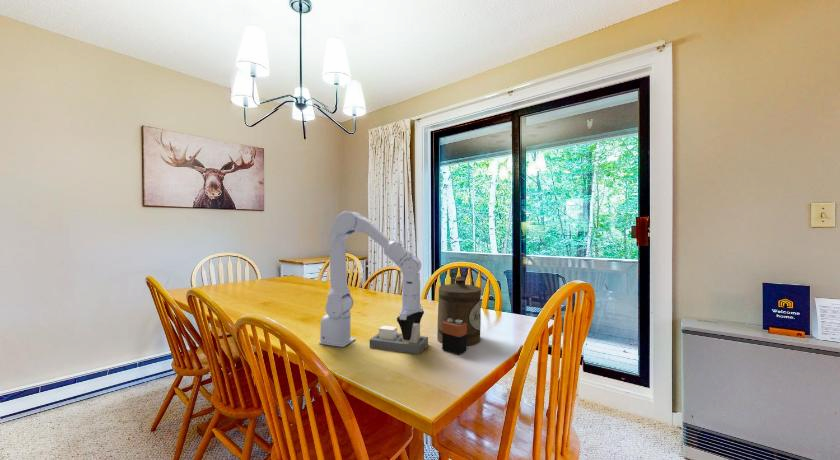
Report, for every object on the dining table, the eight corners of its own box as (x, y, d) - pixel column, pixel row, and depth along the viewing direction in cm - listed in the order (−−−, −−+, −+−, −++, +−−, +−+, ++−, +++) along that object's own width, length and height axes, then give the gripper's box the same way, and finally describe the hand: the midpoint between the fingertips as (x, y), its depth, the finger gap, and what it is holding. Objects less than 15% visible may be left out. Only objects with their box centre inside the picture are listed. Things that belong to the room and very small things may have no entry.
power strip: (369, 347, 109) (369, 330, 109) (381, 338, 118) (381, 322, 118) (419, 354, 104) (419, 336, 104) (428, 344, 112) (428, 328, 112)
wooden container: (483, 347, 110) (484, 280, 109) (438, 346, 110) (438, 279, 110) (476, 333, 125) (477, 273, 124) (436, 332, 125) (437, 273, 125)
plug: (401, 346, 108) (401, 325, 108) (405, 343, 112) (405, 322, 112) (416, 348, 107) (416, 326, 107) (419, 344, 110) (420, 323, 110)
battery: (459, 355, 103) (459, 323, 103) (441, 350, 107) (441, 318, 107) (467, 351, 106) (467, 320, 106) (449, 346, 111) (450, 316, 110)
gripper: (415, 300, 101) (414, 345, 101) (429, 291, 115) (429, 331, 115) (393, 298, 103) (393, 342, 103) (410, 289, 117) (409, 328, 117)
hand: (410, 336), depth 109 cm, fingers open, 6 cm apart
